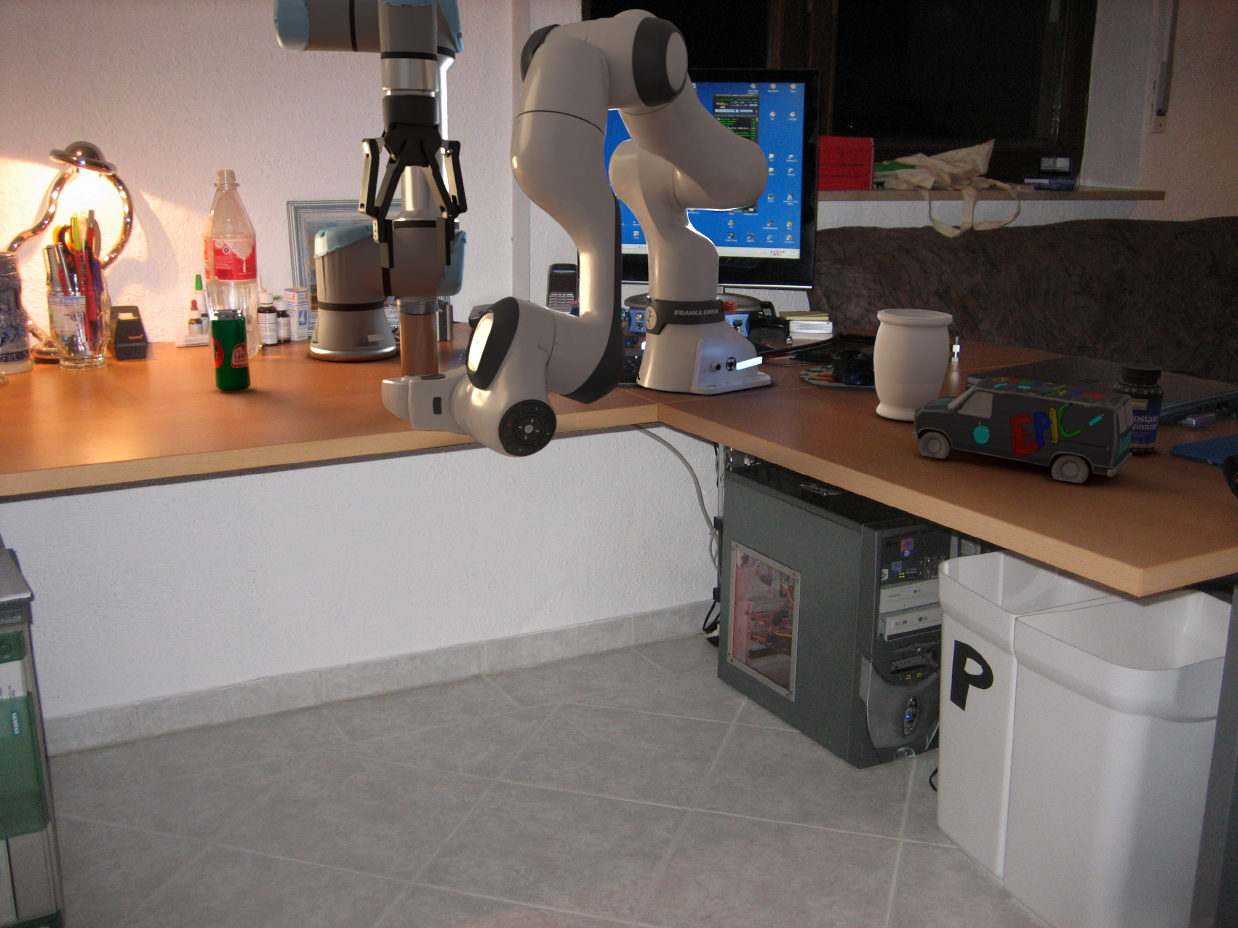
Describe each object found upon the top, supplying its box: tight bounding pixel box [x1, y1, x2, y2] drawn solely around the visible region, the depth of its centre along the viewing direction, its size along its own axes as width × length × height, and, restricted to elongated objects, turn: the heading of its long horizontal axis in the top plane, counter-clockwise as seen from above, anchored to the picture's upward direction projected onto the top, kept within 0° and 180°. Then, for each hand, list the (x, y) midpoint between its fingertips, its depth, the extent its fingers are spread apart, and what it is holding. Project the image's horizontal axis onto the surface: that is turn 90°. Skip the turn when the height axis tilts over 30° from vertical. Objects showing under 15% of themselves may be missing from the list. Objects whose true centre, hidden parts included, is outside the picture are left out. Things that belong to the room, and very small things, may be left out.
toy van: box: [911, 376, 1135, 484], centre depth 132 cm, size 11×25×10 cm, turn 54°
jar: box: [873, 308, 953, 422], centre depth 154 cm, size 11×10×15 cm
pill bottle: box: [1111, 362, 1165, 455], centre depth 139 cm, size 6×6×11 cm
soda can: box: [209, 308, 251, 393], centre depth 163 cm, size 5×5×12 cm
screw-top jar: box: [398, 312, 439, 377], centre depth 154 cm, size 5×5×16 cm
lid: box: [396, 296, 439, 314], centre depth 152 cm, size 6×6×2 cm
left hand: (416, 265), depth 150 cm, fingers open, 8 cm apart
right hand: (443, 378), depth 145 cm, fingers open, 8 cm apart
